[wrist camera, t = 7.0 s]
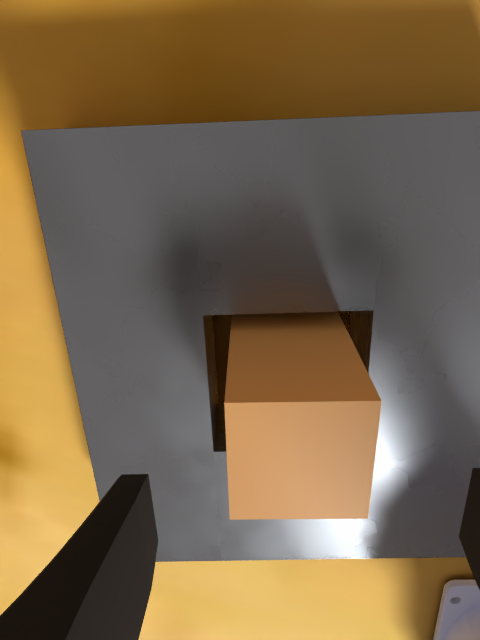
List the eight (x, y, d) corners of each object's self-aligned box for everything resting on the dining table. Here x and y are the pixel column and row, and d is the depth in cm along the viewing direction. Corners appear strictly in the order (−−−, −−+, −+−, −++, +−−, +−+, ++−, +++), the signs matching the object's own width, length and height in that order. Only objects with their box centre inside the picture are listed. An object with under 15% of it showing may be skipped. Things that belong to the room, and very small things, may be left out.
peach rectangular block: (325, 380, 18) (368, 518, 12) (236, 381, 18) (229, 519, 12) (330, 296, 17) (381, 401, 10) (233, 297, 17) (224, 402, 10)
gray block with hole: (436, 498, 20) (465, 557, 18) (130, 504, 21) (112, 562, 18) (503, 111, 14) (565, 107, 11) (63, 130, 15) (21, 130, 12)
